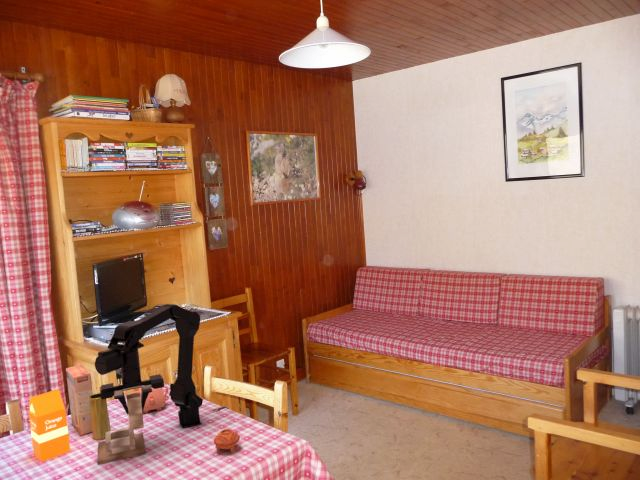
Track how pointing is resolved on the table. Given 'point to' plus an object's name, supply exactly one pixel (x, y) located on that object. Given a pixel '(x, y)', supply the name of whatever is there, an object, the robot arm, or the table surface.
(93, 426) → the vase
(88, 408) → the cracker box
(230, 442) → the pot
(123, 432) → the well
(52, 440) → the orange juice
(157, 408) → the teapot
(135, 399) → the peg
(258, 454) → the table surface
